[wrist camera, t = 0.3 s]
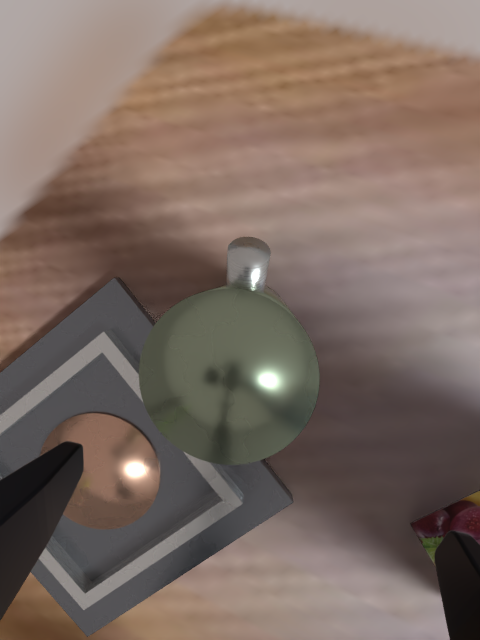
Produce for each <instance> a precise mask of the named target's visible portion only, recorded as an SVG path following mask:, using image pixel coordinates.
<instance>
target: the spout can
mask: <svg viewBox="0 0 480 640" xmlns="http://www.w3.org/2000/svg"><path fill="white" fill-rule="evenodd" d="M270 254H271V252H270V248H269V246H268V245H267V244H266V243H265V242H263V241H262V240H260V239H257V238H253V237H241V238H238V239H235V240H234V241H232V242H231V243H230V244H229V246H228V254H227V275H226V286H222V287H219V288H215V289H211V290H208V291H204V292H201V293H198V294H195V295H192V296H190V297H188V298H186V299H184V300H182V301H180V302H179V303H177V304H176V305H174V306H173V307H172V308H170V309H169V310H168V311H167V312H166V313H164V315H163V316H162V317H161V318H160V319H159V320H158V321H157V322H156V324H155V325H154V327H153V328H152V330H151V331H150V333H149V335H148V337H147V339H146V341H145V344H144V347H143V350H142V353H141V358H140V363H139V387H140V392H141V396H142V400H143V403H144V406H145V408H146V410H147V412H148V414H149V416H150V418H151V420H152V422H153V423H154V425H155V426H156V428H157V429H158V430H159V431H160V432H161V433H162V435H163V436H164V437H165V438H166V439H167V440H169V441H170V442H171V443H172V444H173V445H174V446H176V447H177V448H179V449H180V450H182V451H183V452H185V453H187V454H189V455H191V456H193V457H195V458H198V459H200V460H203V461H207V462H211V463H216V464H223V465H239V464H247V463H252V462H256V461H260V460H262V459H265V458H267V457H270V456H272V455H274V454H275V453H277V452H279V451H281V450H282V449H283V448H285V447H286V446H287V445H289V444H290V443H291V442H292V441H293V440H294V439H295V438H296V437H297V436H298V435H299V434H300V432H301V431H302V430H303V429H304V427H305V426H306V424H307V422H308V421H309V419H310V417H311V415H312V413H313V410H314V408H315V405H316V401H317V398H318V392H319V366H318V360H317V357H316V353H315V350H314V347H313V345H312V343H311V340H310V338H309V337H308V335H307V333H306V332H305V330H304V328H303V327H302V326H301V324H300V323H299V322H298V320H297V319H296V318H295V316H294V315H293V314H292V312H291V311H290V310H289V308H288V307H287V306H286V304H285V303H284V302H283V300H282V299H281V298H280V297H279V295H278V294H276V293H275V292H274V291H273V290H272V289H270V288H269V287H267V286H265V282H266V276H267V271H268V265H269V260H270Z"/></svg>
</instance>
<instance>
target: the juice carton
mask: <svg viewBox="0 0 480 640" xmlns="http://www.w3.org/2000/svg"><path fill="white" fill-rule="evenodd" d="M410 524H411V526H412V528H413V529H414V531H415V533H416V535H417V536H418V538H419V540H420V541H421V543H422V545H423V546H424V548H425V550H426V552H427V553H428V555H429V557H430V558H431V560H432V562H433V563H434V565H435V559H434V555H435V550H436V548H437V547H438V545H439V544H440V543H441V541H442V540H443V538H444V537H445V535H446V534H447V533H448V532H449V531H451V530H455V531H459V532H463V533H467V534H469V535H471V536H472V537H473V538H474V539H475V540H476V541H477V542H478V543H479V544H480V491H478V492H475V493H473V494H471V495H469V496H467V497H465V498H463V499H461V500H459V501H456V502H454V503H452V504H450V505H448V506H446V507H444V508H442V509H439V510H437V511H435V512H433V513H431V514H429V515H427V516H425V517H423V518H420V519H418V520H416V521H414V522H412V523H410ZM435 567H436V566H435Z"/></svg>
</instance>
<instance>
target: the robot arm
mask: <svg viewBox="0 0 480 640" xmlns="http://www.w3.org/2000/svg"><path fill="white" fill-rule="evenodd" d="M83 469H84V458H83V446H82V445H81V444H79V443H75V442H71V441H65V442H62V443H61V444H59V445H57V446H56V447H54V448H52V449H51V450H49V451H47V452H46V453H44V454H42V455H41V456H39V457H37V458H36V459H34V460H33V461H31V462H29V463H28V464H26V465H24V466H23V467H21V468H19V469H18V470H16V471H14V472H13V473H11V474H9V475H8V476H6V477H4V478H3V479H1V480H0V620H1V619H2V617H3V615H4V614H5V612H6V611H7V609H8V607H9V606H10V604H11V603H12V601H13V599H14V598H15V596H16V594H17V593H18V591H19V590H20V588H21V586H22V585H23V583H24V581H25V580H26V578H27V577H28V575H29V573H30V572H31V570H32V569H33V567H34V565H35V564H36V562H37V560H38V559H39V557H40V556H41V554H42V552H43V551H44V549H45V547H46V546H47V544H48V542H49V540H50V538H51V537H52V535H53V533H54V531H55V529H56V527H57V525H58V523H59V521H60V519H61V517H62V515H63V513H64V511H65V509H66V507H67V504H68V502H69V500H70V498H71V496H72V494H73V492H74V490H75V488H76V486H77V484H78V482H79V480H80V478H81V476H82V473H83ZM434 559H435V566H436V571H437V576H438V581H439V586H440V592H441V597H442V602H443V607H444V612H445V618H446V623H447V628H448V632H449V637H450V640H480V544H479V543H478V542H477V541H476V540H475V539H474V538H473V537H472V536H471V535H469V534H467V533H463V532H459V531H455V530H451V531H449V532H448V533H447V534H446V535H445V537H444V538H443V540H442V541H441V543H440V544H439V545H438V547H437V548H436V550H435V555H434Z"/></svg>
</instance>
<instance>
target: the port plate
mask: <svg viewBox="0 0 480 640" xmlns="http://www.w3.org/2000/svg"><path fill="white" fill-rule="evenodd" d="M155 324H156V323H155V322H154V321H153V319H152V318H151V317H150V316H149V314H148V313H147V312H146V310H145V309H144V308H143V307H142V305H141V304H140V303H139V302H138V300H137V299H136V298H135V297H134V295H133V294H132V293H131V292H130V290H129V289H128V288H127V287H126V285H125V284H124V283H123V282H122V280H121V279H120V278H113V279H112V280H111V281H110V282H108V283H107V284H106V285H105V286H104V287H102V288H101V289H100V290H99V291H98V292H96V293H95V294H94V295H93V296H92V297H90V298H89V299H88V300H87V301H86V302H84V303H83V304H82V305H81V306H80V307H78V308H77V309H76V310H75V311H74V312H72V313H71V314H70V315H69V316H68V317H66V318H65V319H64V320H63V321H62V322H60V323H59V324H58V325H57V326H56V327H54V328H53V329H52V330H51V331H50V332H49V333H47V334H46V335H45V336H44V337H43V338H41V339H40V340H39V341H38V342H37V343H35V344H34V345H33V346H32V347H31V348H29V349H28V350H27V351H26V352H25V353H23V354H22V355H21V356H20V357H19V358H17V359H16V360H15V361H14V362H13V363H11V364H10V365H9V366H8V367H7V368H5V369H4V370H3V371H2V372H1V373H0V480H1V479H3V478H4V477H6V476H8V475H9V474H11V473H13V472H14V471H16V470H18V469H19V468H21V467H23V466H24V465H26V464H28V463H29V462H31V461H33V460H34V459H36V458H37V457H39V456H41V455H42V454H44V453H46V452H47V451H49V450H51V449H52V448H54V447H56V446H57V445H59V444H61V443H62V442H65V441H71V442H75V443H79V444H81V445H82V446H83V458H84V469H83V473H82V476H81V478H80V480H79V482H78V484H77V486H76V488H75V490H74V492H73V494H72V496H71V498H70V500H69V502H68V504H67V507H66V509H65V511H64V513H63V515H62V517H61V519H60V521H59V523H58V525H57V527H56V529H55V531H54V533H53V535H52V537H51V538H50V540H49V542H48V544H47V546H46V547H45V549H44V551H43V552H42V554H41V556H40V557H39V559H38V560H37V562H36V564H35V565H34V567H33V569H32V570H31V573H32V574H33V575H34V576H35V577H36V579H37V580H38V581H39V582H40V583H41V584H42V585H43V587H44V588H45V589H46V590H47V591H48V592H49V593H50V595H51V596H52V597H53V598H54V599H55V600H56V601H57V603H58V604H59V605H60V606H61V607H62V608H63V609H64V611H65V612H66V613H67V614H68V615H69V616H70V617H71V619H72V620H73V621H74V622H75V623H76V624H77V625H78V627H79V628H80V629H81V630H82V631H83V632H84V633H85V635H86V636H87V637H88V636H90V635H91V634H93V633H94V632H96V631H97V630H99V629H100V628H102V627H103V626H105V625H107V624H108V623H110V622H111V621H113V620H114V619H116V618H117V617H119V616H120V615H122V614H123V613H125V612H126V611H128V610H129V609H131V608H133V607H134V606H136V605H137V604H139V603H140V602H142V601H143V600H145V599H146V598H148V597H149V596H151V595H152V594H154V593H155V592H157V591H159V590H160V589H162V588H163V587H165V586H166V585H168V584H169V583H171V582H172V581H174V580H175V579H177V578H178V577H180V576H181V575H183V574H184V573H186V572H188V571H189V570H191V569H192V568H194V567H195V566H197V565H198V564H200V563H201V562H203V561H204V560H206V559H207V558H209V557H210V556H212V555H214V554H215V553H217V552H218V551H220V550H221V549H223V548H224V547H226V546H227V545H229V544H230V543H232V542H233V541H235V540H236V539H238V538H239V537H241V536H243V535H244V534H246V533H247V532H249V531H250V530H252V529H253V528H255V527H256V526H258V525H259V524H261V523H262V522H264V521H265V520H267V519H269V518H270V517H272V516H273V515H275V514H276V513H278V512H279V511H281V510H282V509H284V508H285V507H287V506H288V505H290V504H291V503H293V497H292V494H291V493H290V492H289V490H288V489H287V488H286V487H285V485H284V484H283V483H282V482H281V480H280V479H279V478H278V477H277V475H276V474H275V473H274V472H273V470H272V469H271V468H270V466H269V465H268V464H267V463H266V461H265V460H264V459H262V460H260V461H256V462H252V463H247V464H239V465H223V464H216V463H211V462H207V461H203V460H200V459H198V458H195V457H193V456H191V455H189V454H187V453H185V452H183V451H182V450H180V449H179V448H177V447H176V446H174V445H173V444H172V443H171V442H170V441H169V440H167V439H166V438H165V437H164V436H163V435H162V433H161V432H160V431H159V430H158V429H157V428H156V426H155V425H154V423H153V422H152V420H151V418H150V416H149V414H148V412H147V410H146V408H145V406H144V403H143V400H142V396H141V392H140V387H139V363H140V358H141V353H142V350H143V347H144V344H145V341H146V339H147V337H148V335H149V333H150V331H151V330H152V328H153V327H154V325H155Z"/></svg>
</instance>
